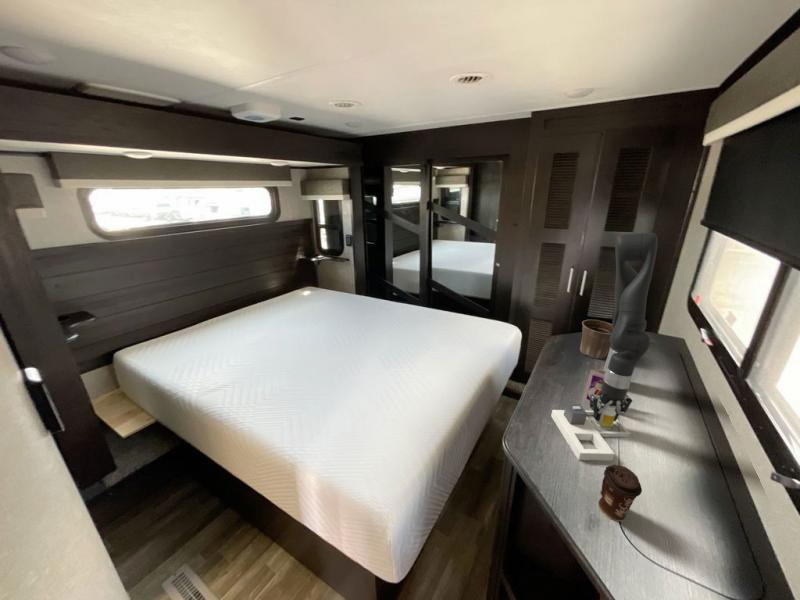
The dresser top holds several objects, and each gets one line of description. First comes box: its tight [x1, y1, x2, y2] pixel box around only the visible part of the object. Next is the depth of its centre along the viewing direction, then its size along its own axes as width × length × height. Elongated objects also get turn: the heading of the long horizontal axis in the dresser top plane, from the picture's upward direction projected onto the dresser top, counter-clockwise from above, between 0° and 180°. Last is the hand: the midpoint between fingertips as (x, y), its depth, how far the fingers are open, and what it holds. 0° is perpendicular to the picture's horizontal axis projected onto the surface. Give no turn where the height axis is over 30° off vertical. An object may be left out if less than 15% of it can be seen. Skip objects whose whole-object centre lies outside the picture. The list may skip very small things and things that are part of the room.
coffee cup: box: [598, 464, 643, 522], centre depth 82 cm, size 9×8×13 cm
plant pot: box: [579, 319, 613, 360], centre depth 159 cm, size 16×16×16 cm
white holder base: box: [551, 403, 616, 462], centre depth 107 cm, size 11×20×9 cm, turn 179°
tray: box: [584, 409, 631, 438], centre depth 113 cm, size 12×12×2 cm
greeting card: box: [582, 369, 606, 404], centre depth 122 cm, size 11×7×15 cm, turn 47°
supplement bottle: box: [594, 404, 616, 430], centre depth 112 cm, size 5×5×10 cm
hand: (604, 419), depth 113 cm, fingers closed on supplement bottle, 5 cm apart
